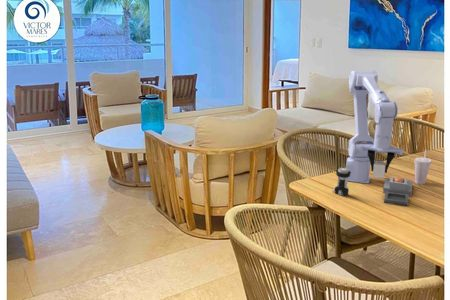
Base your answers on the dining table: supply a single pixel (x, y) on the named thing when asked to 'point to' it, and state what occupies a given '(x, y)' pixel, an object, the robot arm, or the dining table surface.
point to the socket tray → (396, 198)
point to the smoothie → (421, 169)
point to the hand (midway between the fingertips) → (379, 171)
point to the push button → (342, 181)
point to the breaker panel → (398, 186)
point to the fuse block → (379, 169)
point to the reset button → (398, 180)
